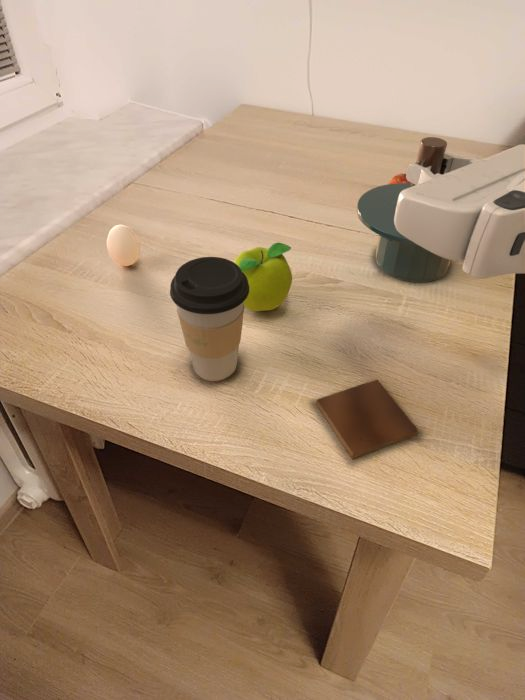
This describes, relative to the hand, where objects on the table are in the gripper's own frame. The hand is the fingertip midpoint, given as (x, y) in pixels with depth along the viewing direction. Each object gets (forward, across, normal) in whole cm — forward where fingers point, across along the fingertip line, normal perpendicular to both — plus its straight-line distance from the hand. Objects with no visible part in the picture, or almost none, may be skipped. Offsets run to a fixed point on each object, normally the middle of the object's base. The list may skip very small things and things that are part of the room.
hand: (424, 165), depth 53 cm
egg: (+41, +20, +27) cm, 53 cm away
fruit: (+18, +8, +27) cm, 34 cm away
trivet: (-8, +11, +27) cm, 30 cm away
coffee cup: (+11, +21, +27) cm, 36 cm away
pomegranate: (+27, -33, +27) cm, 51 cm away
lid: (0, 0, +6) cm, 6 cm away
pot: (+13, -21, +27) cm, 36 cm away
